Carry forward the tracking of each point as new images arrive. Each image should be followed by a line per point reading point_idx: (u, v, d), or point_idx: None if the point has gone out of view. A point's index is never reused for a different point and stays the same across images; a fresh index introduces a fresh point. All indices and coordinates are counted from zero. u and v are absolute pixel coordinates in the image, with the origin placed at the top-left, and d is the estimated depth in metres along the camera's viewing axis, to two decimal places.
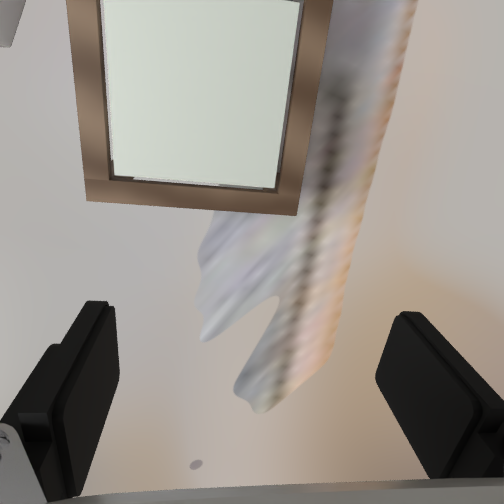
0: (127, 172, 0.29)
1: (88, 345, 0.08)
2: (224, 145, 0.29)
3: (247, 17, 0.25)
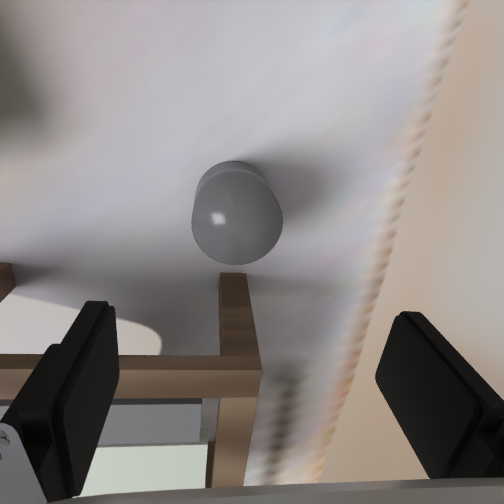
0: None
1: (88, 345, 0.08)
2: None
3: (141, 461, 0.20)
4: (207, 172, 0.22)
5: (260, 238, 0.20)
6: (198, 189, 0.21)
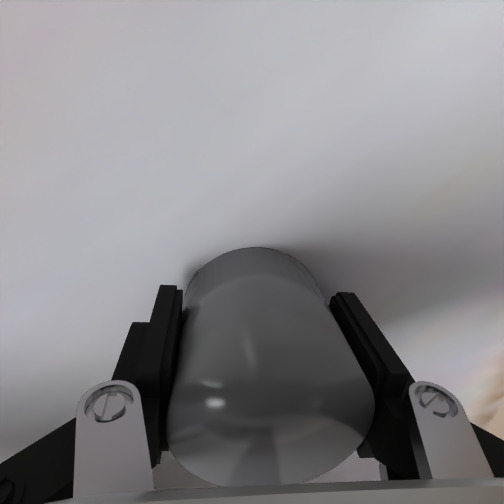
0: None
1: (172, 321, 0.09)
2: None
3: None
4: (204, 273, 0.11)
5: (320, 446, 0.09)
6: (185, 318, 0.10)
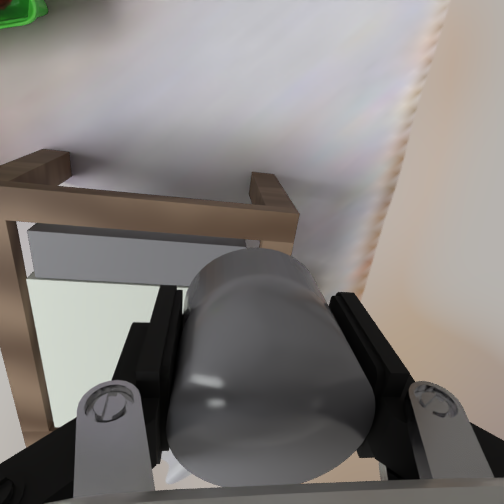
0: None
1: (172, 321, 0.09)
2: None
3: None
4: (205, 273, 0.11)
5: (321, 446, 0.09)
6: (186, 318, 0.10)
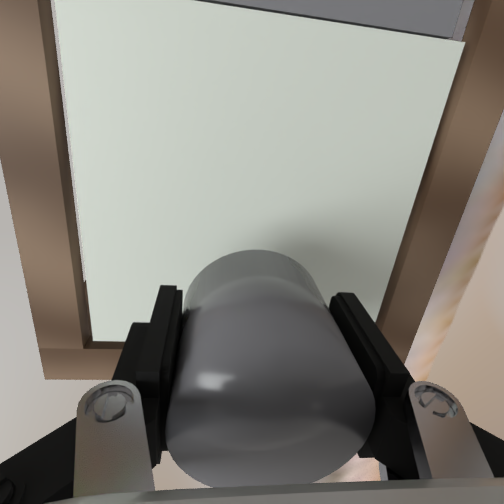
0: (116, 336, 0.16)
1: (173, 321, 0.09)
2: None
3: (357, 71, 0.12)
4: (204, 275, 0.11)
5: (321, 450, 0.09)
6: (185, 321, 0.10)
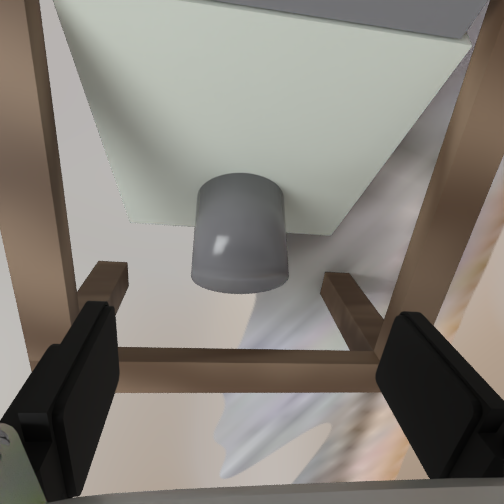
0: (146, 221, 0.22)
1: (88, 345, 0.08)
2: None
3: (354, 67, 0.12)
4: (210, 188, 0.18)
5: (263, 284, 0.19)
6: (198, 218, 0.18)
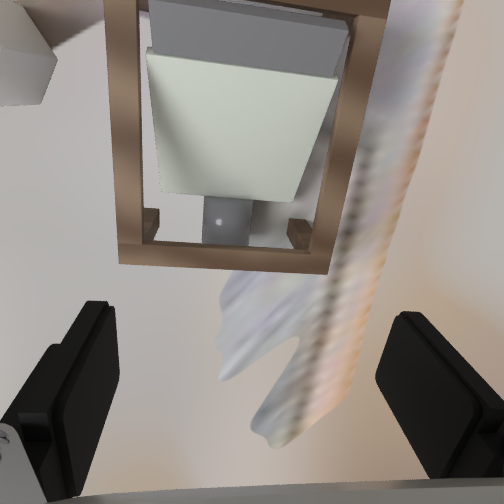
0: (171, 190, 0.35)
1: (88, 345, 0.08)
2: (253, 177, 0.33)
3: (285, 90, 0.26)
4: (210, 207, 0.34)
5: None
6: (204, 219, 0.35)
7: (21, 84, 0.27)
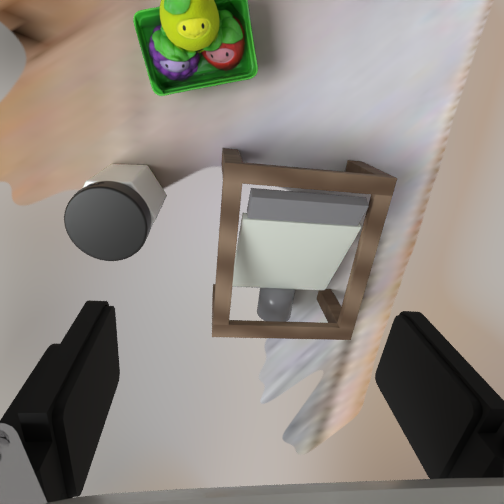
0: (239, 285, 0.48)
1: (88, 345, 0.08)
2: (299, 276, 0.47)
3: (326, 233, 0.40)
4: (266, 294, 0.48)
5: None
6: (261, 300, 0.50)
7: None
